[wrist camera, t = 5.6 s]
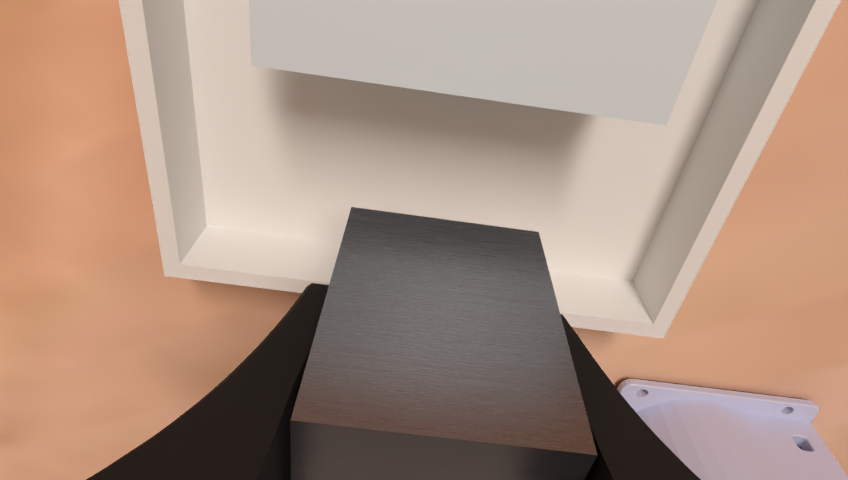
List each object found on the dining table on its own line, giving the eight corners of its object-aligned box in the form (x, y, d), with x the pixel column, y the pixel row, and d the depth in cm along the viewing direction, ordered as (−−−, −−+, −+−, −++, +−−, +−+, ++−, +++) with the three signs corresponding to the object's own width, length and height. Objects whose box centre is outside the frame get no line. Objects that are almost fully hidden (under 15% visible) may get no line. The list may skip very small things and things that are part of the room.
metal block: (538, 231, 13) (597, 455, 8) (498, 361, 15) (524, 592, 10) (351, 206, 13) (290, 420, 8) (341, 342, 15) (291, 569, 10)
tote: (867, -213, 13) (965, -236, 11) (638, 287, 22) (663, 338, 20) (130, -345, 12) (51, -404, 10) (197, 230, 21) (164, 275, 19)
